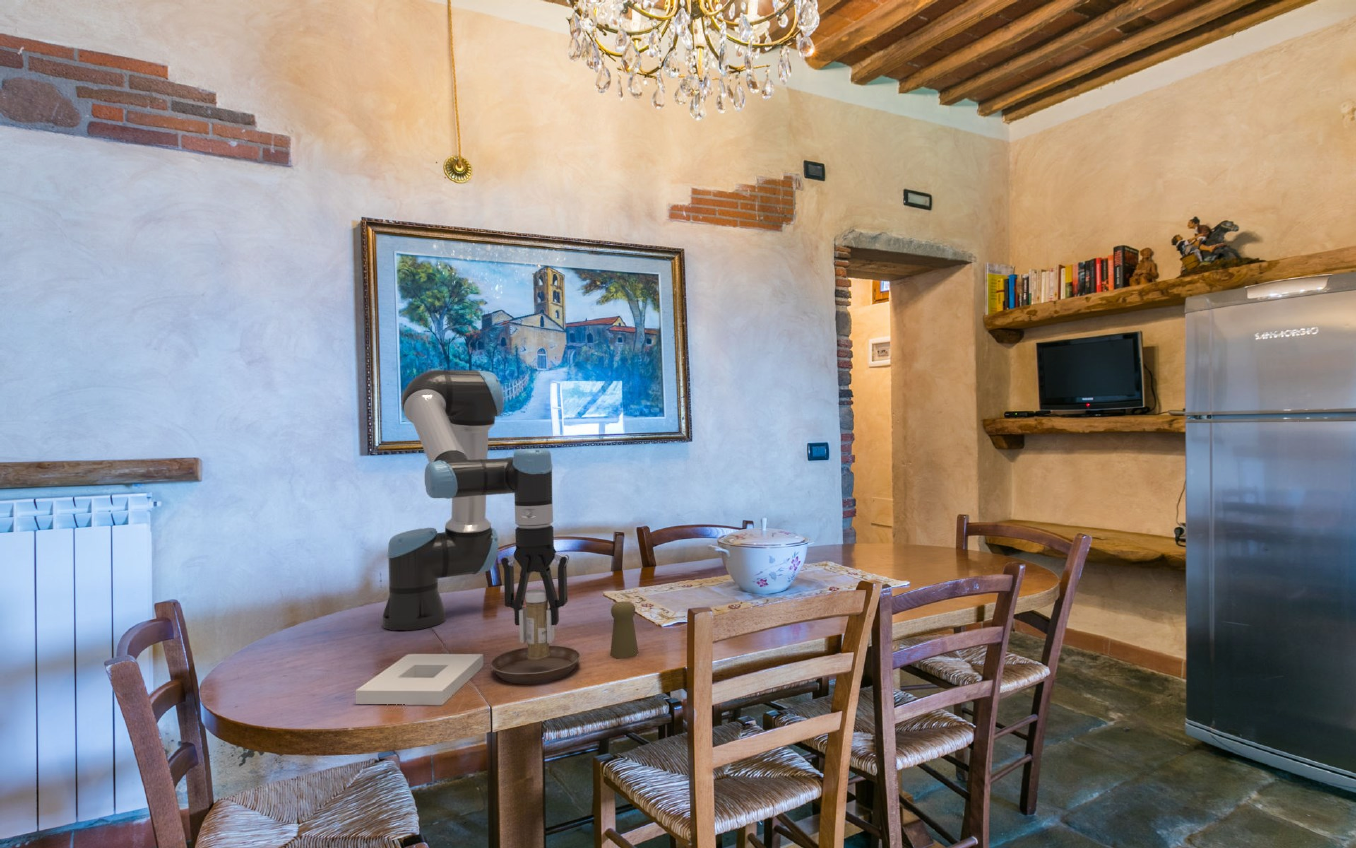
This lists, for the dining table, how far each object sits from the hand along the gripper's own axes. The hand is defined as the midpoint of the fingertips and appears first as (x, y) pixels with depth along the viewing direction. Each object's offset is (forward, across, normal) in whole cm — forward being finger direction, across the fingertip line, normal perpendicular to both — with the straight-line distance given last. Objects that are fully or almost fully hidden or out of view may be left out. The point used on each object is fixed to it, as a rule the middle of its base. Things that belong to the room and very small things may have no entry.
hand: (537, 641), depth 140 cm
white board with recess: (+6, -20, -8) cm, 22 cm away
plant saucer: (+7, 0, 0) cm, 7 cm away
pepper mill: (+6, +16, +10) cm, 20 cm away
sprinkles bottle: (+4, 0, 0) cm, 4 cm away
